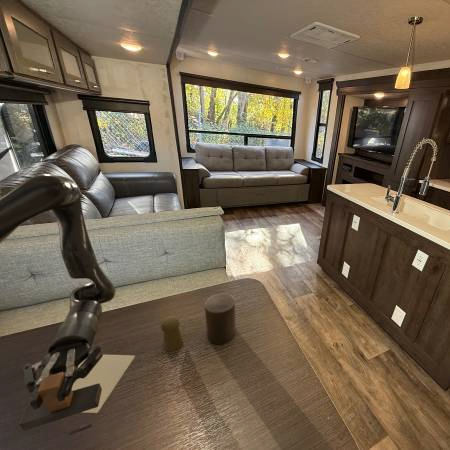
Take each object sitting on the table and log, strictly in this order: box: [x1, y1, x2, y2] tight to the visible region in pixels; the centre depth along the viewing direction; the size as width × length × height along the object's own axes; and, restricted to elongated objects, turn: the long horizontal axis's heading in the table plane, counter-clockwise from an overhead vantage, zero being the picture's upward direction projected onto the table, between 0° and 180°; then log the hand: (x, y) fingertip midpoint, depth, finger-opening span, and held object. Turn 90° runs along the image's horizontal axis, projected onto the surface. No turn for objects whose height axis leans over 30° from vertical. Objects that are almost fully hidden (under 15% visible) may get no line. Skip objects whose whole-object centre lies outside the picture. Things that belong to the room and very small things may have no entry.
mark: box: [68, 423, 93, 435], centre depth 57 cm, size 4×1×1 cm
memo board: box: [72, 353, 136, 414], centre depth 67 cm, size 14×16×1 cm
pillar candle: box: [204, 293, 237, 345], centre depth 84 cm, size 10×10×15 cm
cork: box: [160, 315, 185, 353], centre depth 78 cm, size 6×6×11 cm
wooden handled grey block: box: [18, 372, 102, 432], centre depth 51 cm, size 12×4×10 cm, turn 115°
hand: (48, 401), depth 47 cm, fingers closed on wooden handled grey block, 3 cm apart
